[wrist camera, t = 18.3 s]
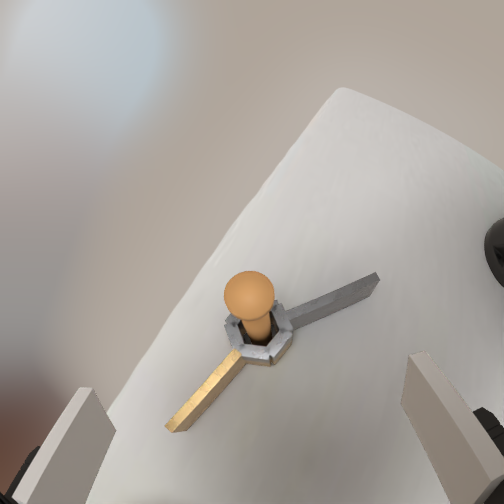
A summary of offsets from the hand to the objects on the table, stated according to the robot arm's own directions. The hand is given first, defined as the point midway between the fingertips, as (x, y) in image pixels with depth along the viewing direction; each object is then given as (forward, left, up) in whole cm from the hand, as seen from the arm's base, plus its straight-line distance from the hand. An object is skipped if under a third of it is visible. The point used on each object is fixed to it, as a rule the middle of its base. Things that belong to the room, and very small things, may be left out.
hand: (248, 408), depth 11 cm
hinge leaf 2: (+4, -13, -30) cm, 32 cm away
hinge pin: (+7, -7, -30) cm, 31 cm away
